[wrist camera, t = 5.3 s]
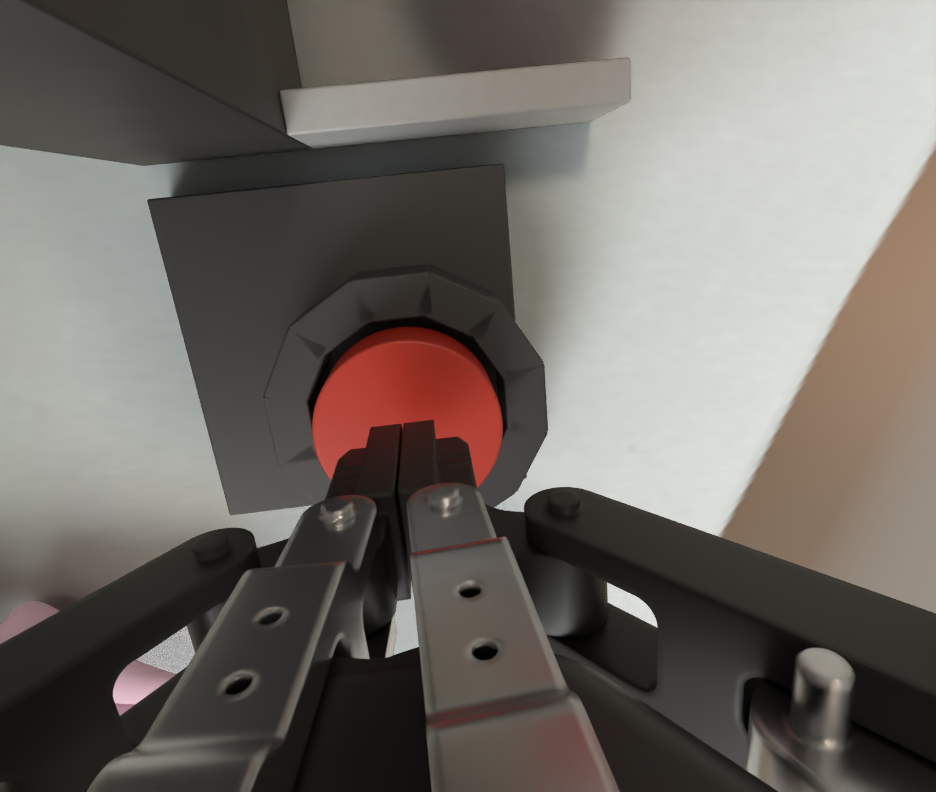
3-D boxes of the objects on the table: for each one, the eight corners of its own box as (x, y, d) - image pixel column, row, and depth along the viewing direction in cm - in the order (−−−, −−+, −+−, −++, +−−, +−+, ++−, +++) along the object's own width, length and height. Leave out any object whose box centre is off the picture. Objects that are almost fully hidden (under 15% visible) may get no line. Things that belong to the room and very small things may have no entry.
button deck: (168, 199, 17) (108, 198, 14) (512, 164, 18) (532, 155, 14) (245, 505, 21) (211, 563, 17) (532, 470, 21) (553, 519, 18)
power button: (307, 336, 16) (294, 351, 14) (487, 316, 16) (495, 328, 14) (338, 497, 17) (329, 528, 16) (501, 477, 18) (510, 505, 16)
